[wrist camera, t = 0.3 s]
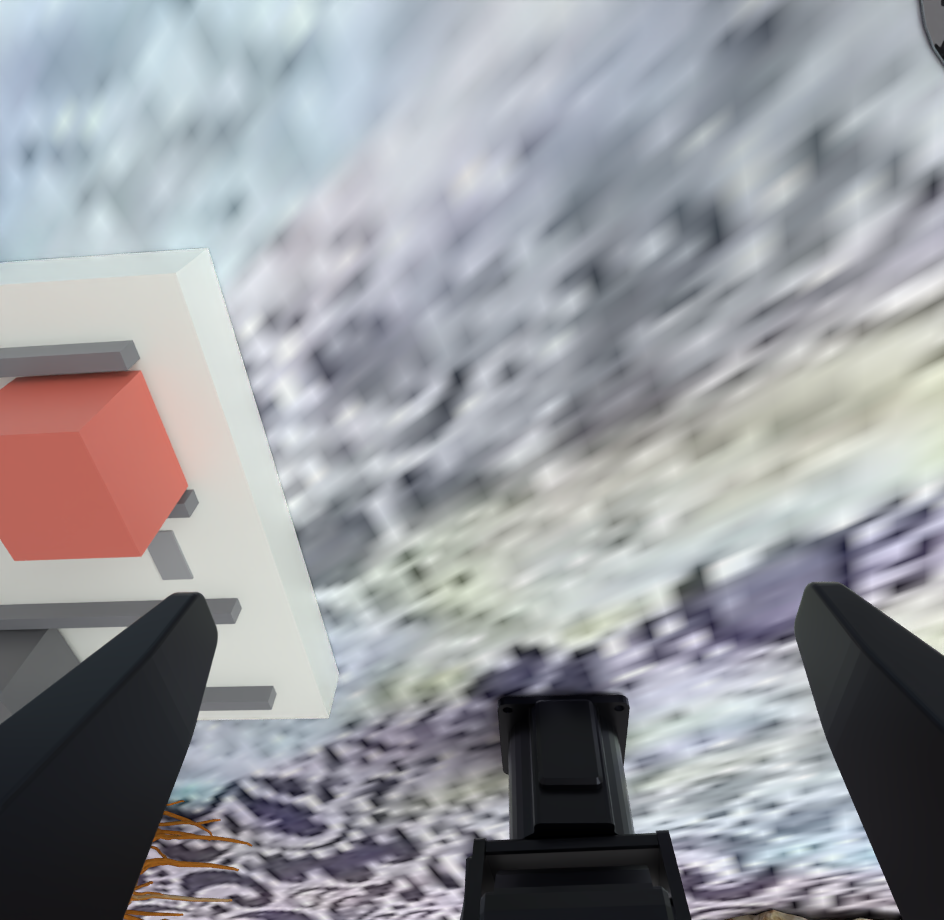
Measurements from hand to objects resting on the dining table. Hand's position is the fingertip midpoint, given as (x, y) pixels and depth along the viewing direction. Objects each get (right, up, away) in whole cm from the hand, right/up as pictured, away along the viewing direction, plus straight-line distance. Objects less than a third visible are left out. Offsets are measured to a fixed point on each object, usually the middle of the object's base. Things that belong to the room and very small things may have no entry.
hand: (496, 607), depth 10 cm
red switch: (-12, +3, +11) cm, 17 cm away
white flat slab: (-16, +2, +15) cm, 22 cm away
